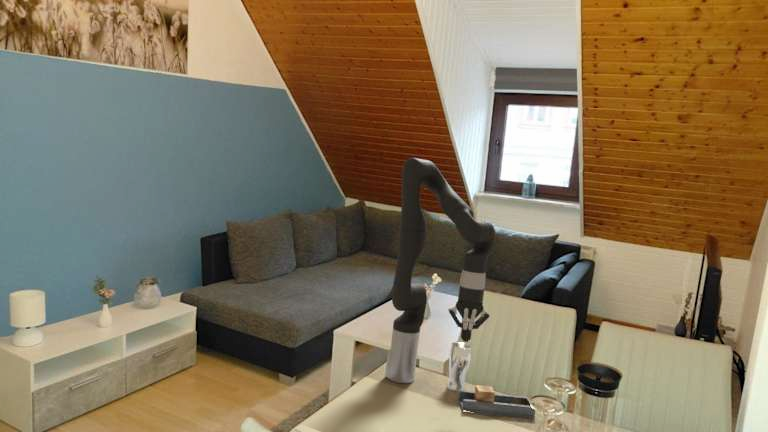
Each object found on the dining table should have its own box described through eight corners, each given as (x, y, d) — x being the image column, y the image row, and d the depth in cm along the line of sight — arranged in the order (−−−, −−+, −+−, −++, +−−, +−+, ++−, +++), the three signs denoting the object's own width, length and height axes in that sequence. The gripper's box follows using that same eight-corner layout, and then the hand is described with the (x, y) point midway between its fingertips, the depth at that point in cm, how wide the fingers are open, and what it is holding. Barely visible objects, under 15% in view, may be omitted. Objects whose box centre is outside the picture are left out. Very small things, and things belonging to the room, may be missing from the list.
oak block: (476, 406, 166) (478, 391, 166) (473, 400, 171) (475, 384, 171) (492, 408, 167) (494, 392, 166) (489, 401, 172) (491, 386, 171)
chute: (462, 412, 164) (464, 401, 164) (458, 400, 173) (459, 389, 173) (534, 419, 165) (535, 408, 165) (526, 407, 174) (527, 396, 174)
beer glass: (442, 388, 182) (448, 344, 181) (449, 382, 188) (455, 340, 187) (462, 394, 179) (467, 349, 178) (469, 388, 185) (474, 345, 184)
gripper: (452, 285, 162) (445, 342, 164) (496, 290, 163) (489, 347, 164) (448, 281, 170) (442, 335, 171) (490, 285, 170) (483, 339, 171)
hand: (465, 340), depth 167 cm, fingers closed
